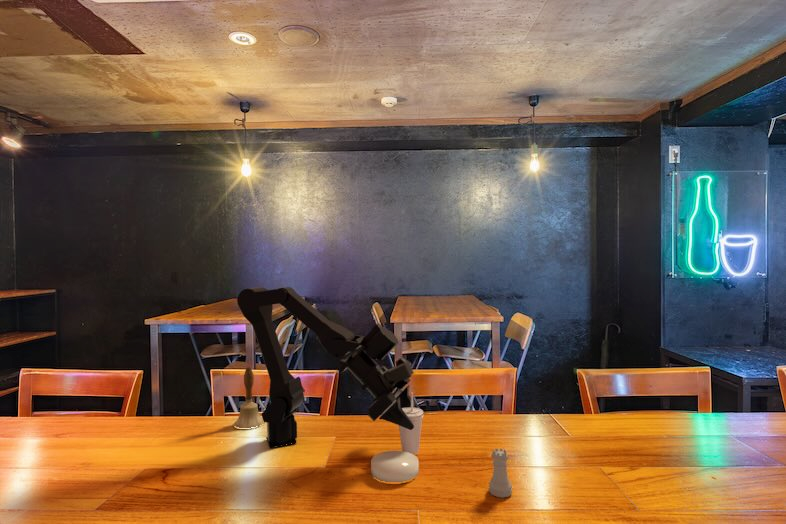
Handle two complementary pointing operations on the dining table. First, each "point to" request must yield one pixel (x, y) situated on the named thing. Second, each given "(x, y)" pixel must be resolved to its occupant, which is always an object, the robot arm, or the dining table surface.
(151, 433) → the dining table surface
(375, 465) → the stand
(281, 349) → the robot arm
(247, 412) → the hand bell
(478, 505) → the dining table surface
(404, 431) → the smoothie
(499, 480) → the rook chess piece
